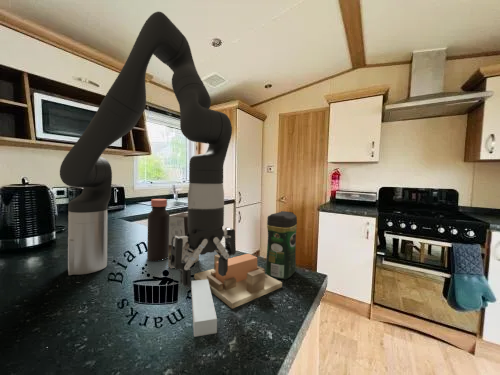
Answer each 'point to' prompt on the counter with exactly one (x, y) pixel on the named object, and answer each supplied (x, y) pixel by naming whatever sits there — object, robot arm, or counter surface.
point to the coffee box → (178, 232)
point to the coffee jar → (281, 245)
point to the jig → (239, 285)
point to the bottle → (158, 231)
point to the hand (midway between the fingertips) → (205, 280)
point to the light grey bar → (203, 308)
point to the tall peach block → (238, 268)
